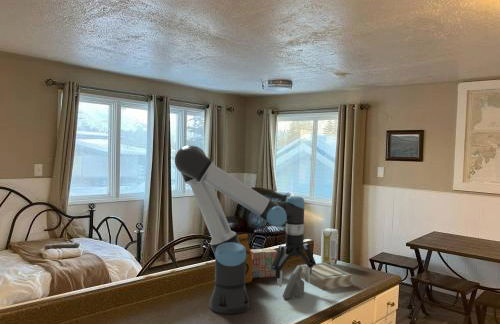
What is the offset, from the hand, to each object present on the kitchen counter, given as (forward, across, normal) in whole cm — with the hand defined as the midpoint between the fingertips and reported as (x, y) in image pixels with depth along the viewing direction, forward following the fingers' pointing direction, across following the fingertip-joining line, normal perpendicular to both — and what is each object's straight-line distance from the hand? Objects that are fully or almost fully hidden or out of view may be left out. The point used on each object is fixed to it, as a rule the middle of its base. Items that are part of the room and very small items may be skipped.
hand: (293, 283), depth 169 cm
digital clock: (+5, 0, 0) cm, 5 cm away
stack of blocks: (+5, -5, +29) cm, 30 cm away
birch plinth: (+5, +23, +11) cm, 26 cm away
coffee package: (+5, -16, +22) cm, 28 cm away
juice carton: (+5, +42, +33) cm, 54 cm away
